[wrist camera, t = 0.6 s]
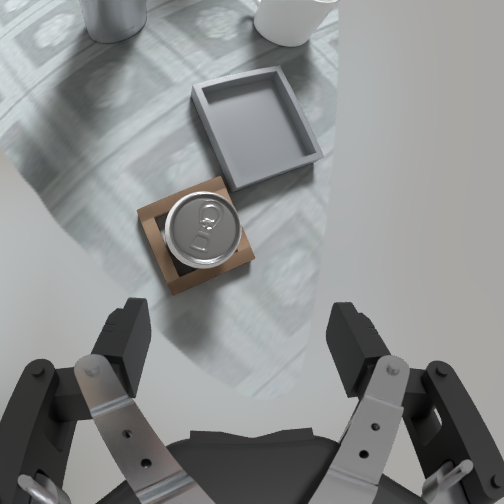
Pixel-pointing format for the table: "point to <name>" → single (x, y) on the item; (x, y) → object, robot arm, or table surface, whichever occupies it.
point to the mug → (290, 19)
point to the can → (203, 230)
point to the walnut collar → (160, 249)
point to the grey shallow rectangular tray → (255, 125)
